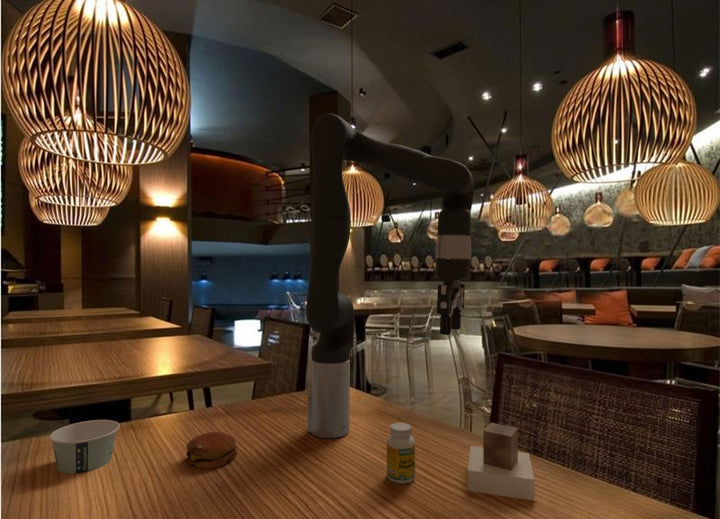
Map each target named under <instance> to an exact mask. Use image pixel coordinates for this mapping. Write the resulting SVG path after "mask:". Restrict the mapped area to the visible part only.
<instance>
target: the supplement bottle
mask: <svg viewBox="0 0 720 519" xmlns="http://www.w3.org/2000/svg"><path fill="white" fill-rule="evenodd" d="M389 430H390V431H389V432H390V435H388V437H387V440H386V477H387V479H388V480H389V481H390V482H392V483H395V484H398V485H403V484H409V483H411V482H413V481H414V480H415V478H416V441H415V438H414V437H413V435H412V426H411V424H409V423H405V422H396V423H391V424H390V426H389Z"/></svg>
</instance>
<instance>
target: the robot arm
mask: <svg viewBox="0 0 720 519" xmlns="http://www.w3.org/2000/svg"><path fill="white" fill-rule="evenodd" d="M310 133H311V134H310V144H311V158H312V171H313V172H312V174H313V175H312V176H313V177H312V179H313V180H312V181H313V183H312V211H311V212H312V213H311V249H310V250H311V252H310V271H309V272H310V273H309V274H310V275H309V282H308V289H307V295H306V296H307V297H306V307H305V314H306V321H307V323H308V326H310V328H311V329H312V330H313V331H314V332H316V333H317V334H318V333H319V338H318V340H317V342H316V343H315V344H314V346H313V347H312V349H311V369H310V370H311V372H310V373H311V380H310V381H311V384H310V385H311V390H309V391H308V392H307V417H306V418H307V433H311V435H313V436H315V437H318V438H321V439H337V438H340V437H341V438H342V437H344V436H346V435H348V434H349V432H350V422H351V421H350V402H351V401H350V399H351V396H350V394H351V392H350V391H351V390H350V389H351V388H350V387H351V386H350V384H351V383H350V380H351V377H350V376H351V373H350V372H351V367H350V366H351V352H352V349H353V346H354V334H355V333H354V331H355V309H354V305H353V302H352V299H351V298H350V297H349V296H348V295H346V294H345V293H342V292H339V285H338V284H339V273H340V269H341V265H342V263H343V259H344V257H345V254H346V252H347V250H348V246H349V243H350V237H351V236H350V235H351V207H350V203H349V198H348V194H347V190H346V186H345V183H344V179H343V161H349V162H353V163H358V164H359V163H360V164H362V165H363V164H364V165H366V166H370V167H372V168H374V169H378V170H380V171H382V172H384V173H387V174H390V175H391V176H394V177H397V178H398V179H402V180H405V181H407V182H410V183H413V184H415V185H419V186H420V185H421V186H423V185H424V186H426V187H428V188H431V189H434V190H436V191H438V192H441V193H442V200H441V201H442V202H441V210H440V211H439V214H438V218H437V232H436V233H437V237H436V243H435V259H434V260H435V261H434V262H435V264H434V277H435V278H437V279H439V280H440V279H442V280H443V282H442V284H438V286H437V295H436V296H437V298H436V299H437V301H436V314H438V316H439V334H440V335H443V336H450V335H452V330H457V331H459V330H460V329H461V326H462V314H463V311H464V309H465V290H466V289H465V287H466V284H465V282H462V281H461V280H463V281H466V280H470V279H471V265H472V264H471V263H472V242H471V241H472V240H471V230H472V217H471V216H472V214H471V213H472V208H473V201H474V194H475V193H474V192H475V180H474V176H473V173H471V171H470V170H469V169H468V168H467V166H466V165H464V164H463V163H461V162H458V161H456V160H453V159H449V158H444V157H439V156H435V155H434V156H433V155H431V154H428V153H427V152H423V151H422V150H421V151H420V150H418V149H415V148H412V147H408V146H405V145H401V144H397V143H390V142H384V141H380V140H376V139H374V138H371V136H370V137H369V136H368V135H365V134H364V133H362V132H361V131H358V130H357V129H355V128H353V126H352V125H351V124H350V123H349V122H347V121H346V120H345V119H344V118H342V117H341V116H339V115H337V114H335V113H332V112H331V113H330V112H325V113H322V114H321V115H320V116H319V117H318V118H316V120H315V121H314V123H313V125H312V129H311V132H310Z"/></svg>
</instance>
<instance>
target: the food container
mask: <svg viewBox="0 0 720 519" xmlns="http://www.w3.org/2000/svg"><path fill="white" fill-rule="evenodd" d="M120 427H121V425H120V423H119V422H118V421H115V420H109V419H95V420H93V419H92V420H86V421H79V422H76V423H70V424H68V425H65V426H62V427H60V428H58V429H56V430H53V432H51V433H50V434H49V436H48V439H49V441H50V442H51V443H52V449H53V454H54V459H55V464H56V470H57V472H59V473H63V474H71V475H72V474H81V473H85V472H86V473H88V472H90V471H94V470H97V469H99V468H102V467H104V466H105V465H107V464H109V463H110V461H112V459H113V453H114V449H115V442H116V438H117V432H118V431H119V429H120Z"/></svg>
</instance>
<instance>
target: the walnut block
mask: <svg viewBox="0 0 720 519" xmlns="http://www.w3.org/2000/svg"><path fill="white" fill-rule="evenodd" d="M518 429H519V428H518V427H514V426H509V425H505V424H501V423H500V424H499V423H495V422H490V423H489V424H488V425H487V426H486V427H485V429H484V430H483V434H482V436H483V437H482V440H483V443H482V445H483V446H482V448H483V464H487V465H491V466H495V467H499V468H503V469H507V470H512V469H513V467H514V465H515V464H516V462H517V460H518V452H519V450H518V447H519V442H518V441H519V434H518V431H519V430H518Z"/></svg>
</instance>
